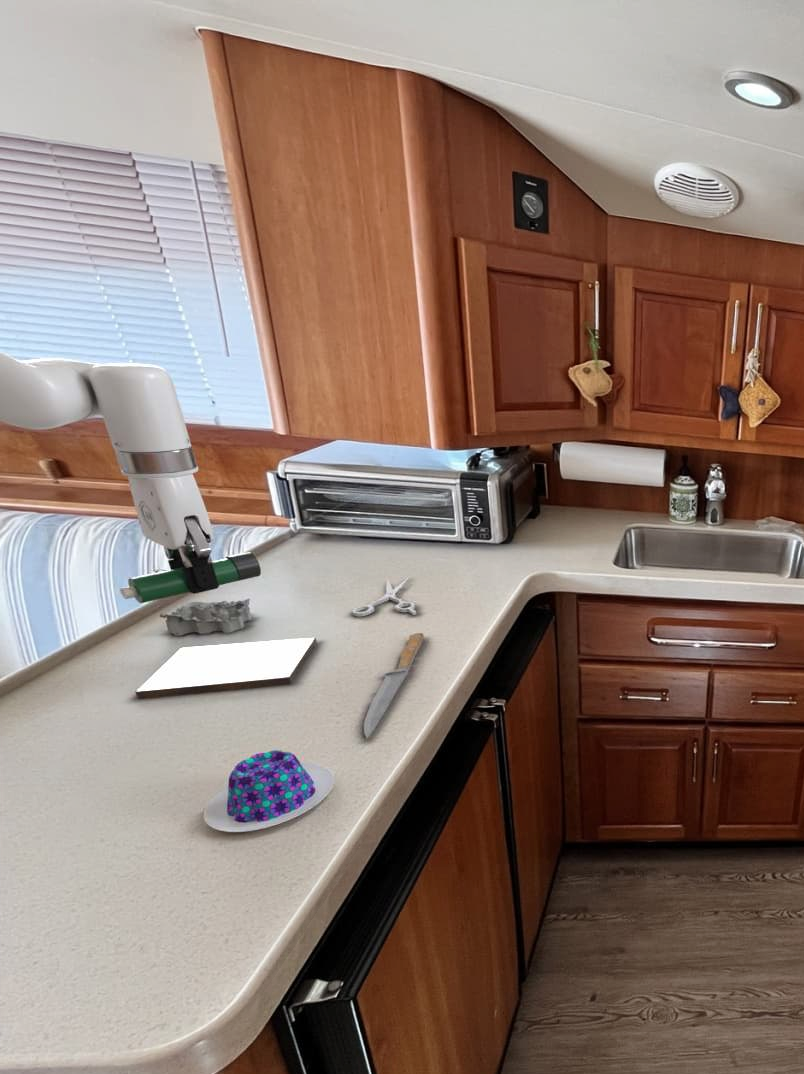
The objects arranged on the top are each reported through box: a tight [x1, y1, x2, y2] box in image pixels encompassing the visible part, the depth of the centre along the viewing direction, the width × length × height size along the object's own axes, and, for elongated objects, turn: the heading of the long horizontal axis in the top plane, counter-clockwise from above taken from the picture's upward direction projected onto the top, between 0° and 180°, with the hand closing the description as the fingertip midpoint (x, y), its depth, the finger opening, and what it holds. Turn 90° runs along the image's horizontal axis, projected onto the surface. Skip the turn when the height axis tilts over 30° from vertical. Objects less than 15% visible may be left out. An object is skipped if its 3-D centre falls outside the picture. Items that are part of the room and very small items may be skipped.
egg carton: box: [159, 598, 253, 637], centre depth 111 cm, size 11×8×4 cm
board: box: [135, 637, 318, 700], centre depth 99 cm, size 18×14×1 cm
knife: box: [363, 632, 425, 740], centre depth 99 cm, size 31×1×3 cm
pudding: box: [203, 749, 335, 833], centre depth 74 cm, size 12×12×5 cm
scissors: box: [352, 577, 417, 617], centre depth 128 cm, size 11×1×20 cm
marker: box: [119, 551, 262, 604], centre depth 92 cm, size 15×4×4 cm, turn 151°
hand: (197, 585), depth 92 cm, fingers closed on marker, 3 cm apart
